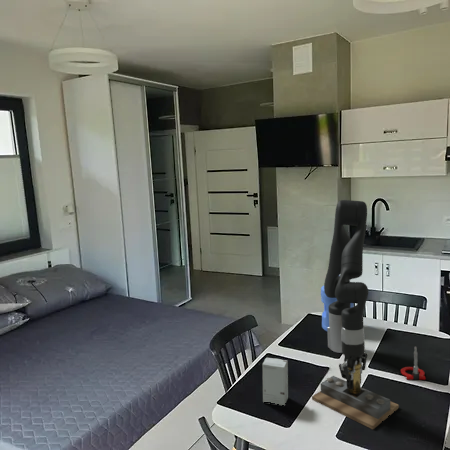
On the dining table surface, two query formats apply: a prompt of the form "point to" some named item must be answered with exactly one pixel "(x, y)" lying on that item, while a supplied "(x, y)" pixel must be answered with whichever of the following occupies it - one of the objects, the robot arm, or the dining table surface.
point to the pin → (356, 380)
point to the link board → (352, 410)
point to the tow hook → (414, 370)
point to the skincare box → (275, 381)
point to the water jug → (327, 308)
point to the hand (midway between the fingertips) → (354, 385)
